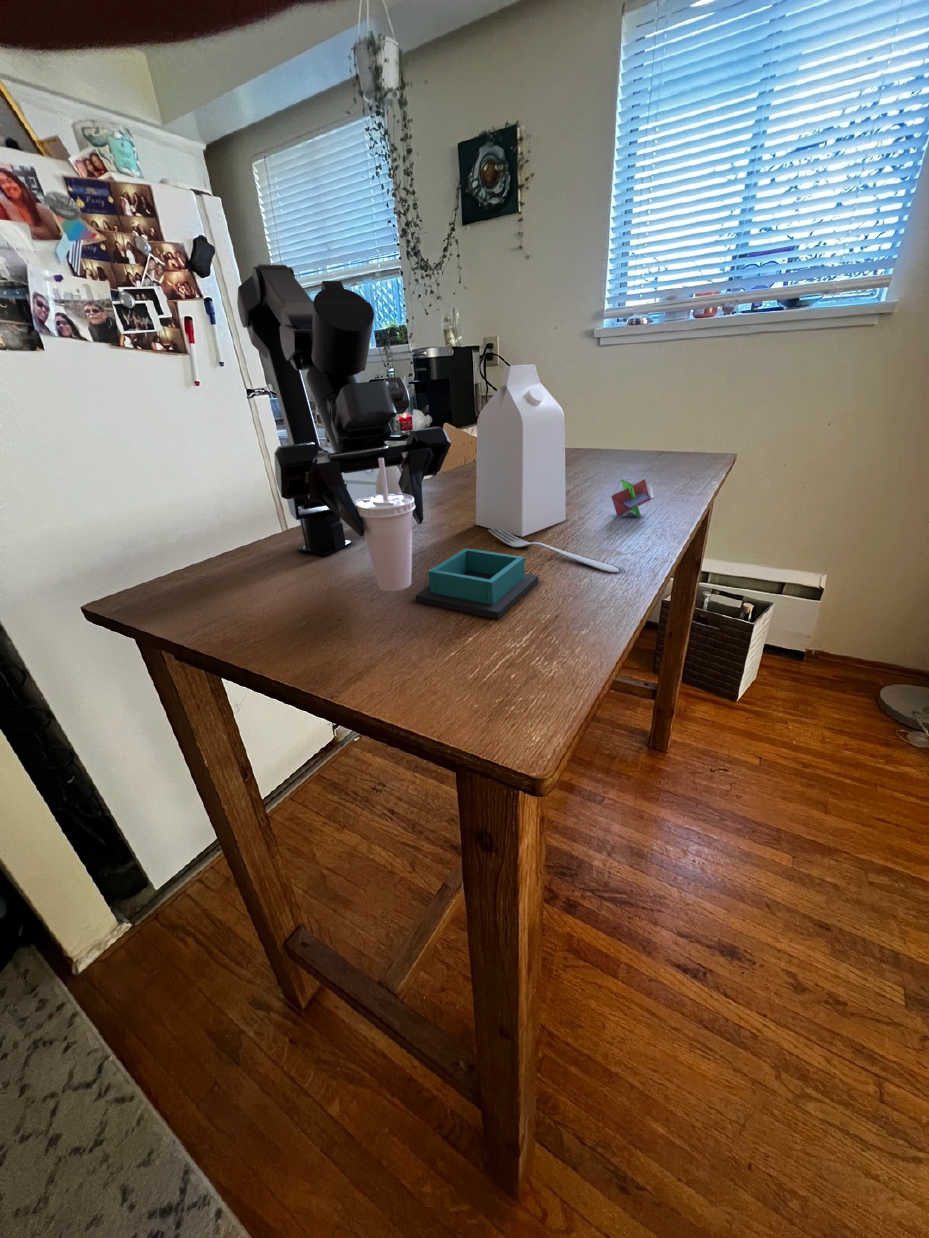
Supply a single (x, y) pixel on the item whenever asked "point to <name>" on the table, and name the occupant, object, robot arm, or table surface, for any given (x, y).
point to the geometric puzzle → (631, 497)
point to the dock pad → (478, 583)
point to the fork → (578, 558)
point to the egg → (389, 480)
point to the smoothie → (388, 534)
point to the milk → (520, 456)
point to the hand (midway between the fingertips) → (392, 528)
